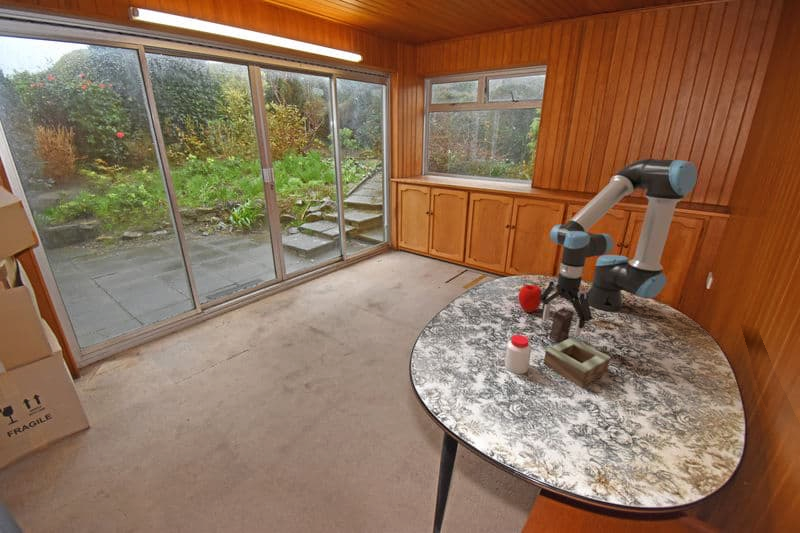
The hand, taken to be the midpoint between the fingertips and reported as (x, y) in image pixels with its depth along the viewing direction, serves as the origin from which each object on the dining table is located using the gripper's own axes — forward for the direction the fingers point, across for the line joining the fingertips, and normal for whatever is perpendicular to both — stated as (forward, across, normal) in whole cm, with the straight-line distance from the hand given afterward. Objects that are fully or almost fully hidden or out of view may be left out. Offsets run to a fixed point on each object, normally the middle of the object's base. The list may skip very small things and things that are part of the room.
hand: (560, 326), depth 132 cm
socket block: (+6, +14, -11) cm, 18 cm away
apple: (+6, -22, +9) cm, 25 cm away
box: (+6, 0, 0) cm, 6 cm away
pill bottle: (+6, +3, -27) cm, 28 cm away
